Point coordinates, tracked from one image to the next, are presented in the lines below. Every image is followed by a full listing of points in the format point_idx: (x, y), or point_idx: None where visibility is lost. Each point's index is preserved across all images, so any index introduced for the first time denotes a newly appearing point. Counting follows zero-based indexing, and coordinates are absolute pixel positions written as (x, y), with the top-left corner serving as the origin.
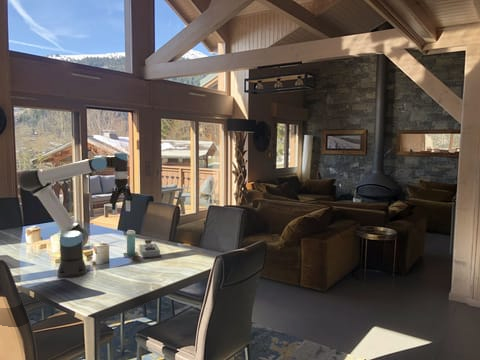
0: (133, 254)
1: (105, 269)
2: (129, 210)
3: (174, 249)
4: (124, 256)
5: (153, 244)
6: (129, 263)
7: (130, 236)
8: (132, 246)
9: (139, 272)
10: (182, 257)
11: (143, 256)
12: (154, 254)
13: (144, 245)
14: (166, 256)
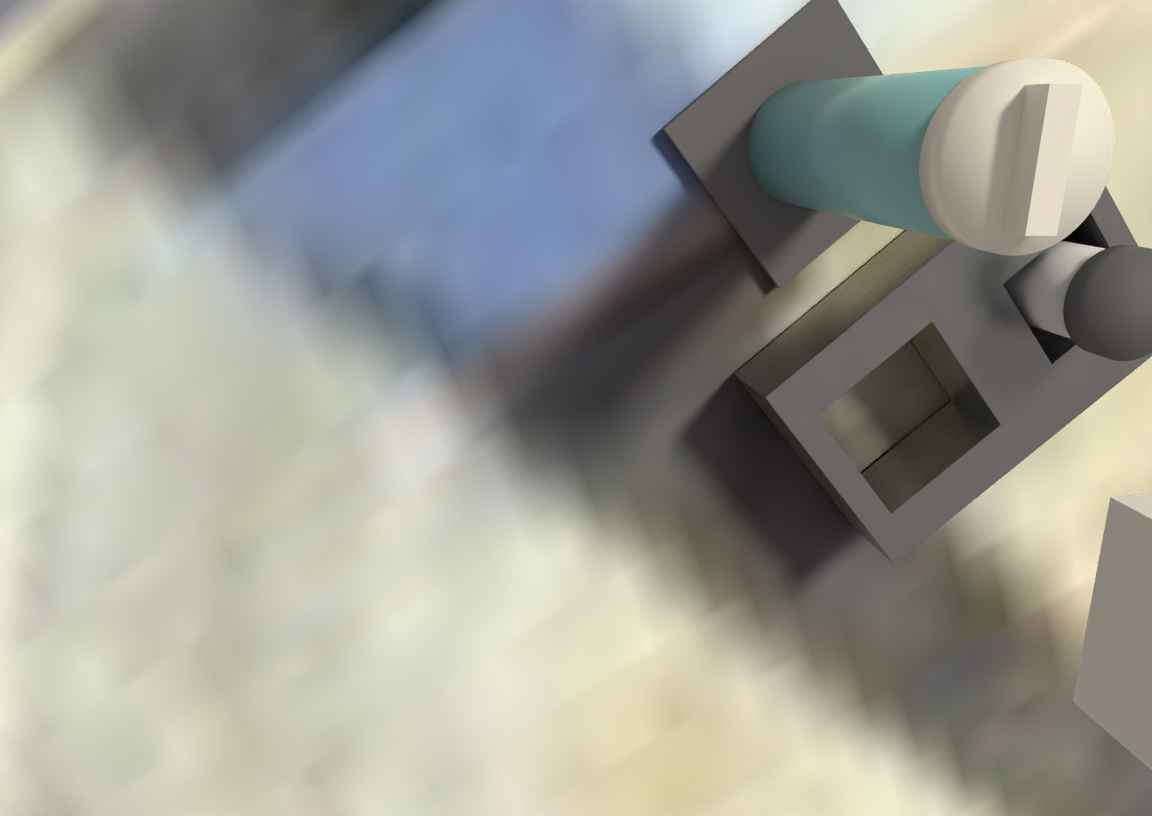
0: (784, 202)
1: (118, 187)
2: (1103, 726)
3: None
4: (689, 109)
5: None
6: (476, 343)
7: (904, 196)
8: (827, 206)
9: (234, 656)
10: (876, 764)
11: (745, 385)
12: (830, 493)
13: None
14: (868, 596)
